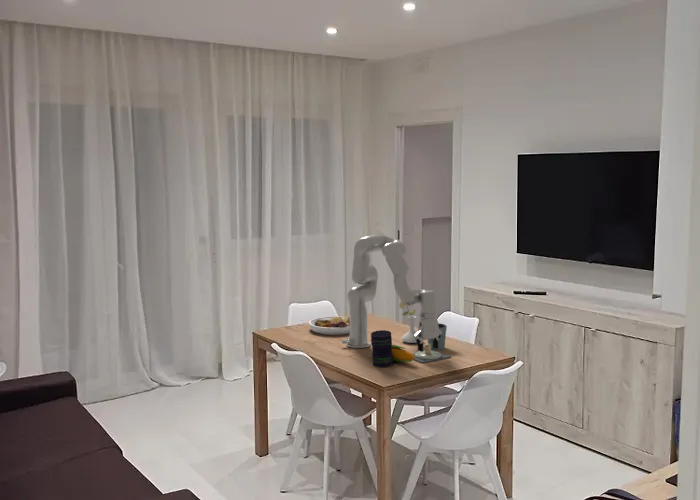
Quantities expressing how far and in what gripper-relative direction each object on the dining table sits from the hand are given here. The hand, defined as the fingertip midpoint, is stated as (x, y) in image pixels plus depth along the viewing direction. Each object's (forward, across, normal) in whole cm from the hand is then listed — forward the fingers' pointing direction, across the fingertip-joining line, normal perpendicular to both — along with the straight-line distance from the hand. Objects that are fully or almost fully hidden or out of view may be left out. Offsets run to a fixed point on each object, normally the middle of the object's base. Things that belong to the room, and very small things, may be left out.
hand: (428, 349), depth 327 cm
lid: (+3, 0, 0) cm, 3 cm away
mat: (+4, 0, 0) cm, 4 cm away
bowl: (+4, -8, +75) cm, 76 cm away
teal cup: (+4, +15, +11) cm, 19 cm away
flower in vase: (+4, +11, +28) cm, 30 cm away
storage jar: (+4, -26, +2) cm, 26 cm away
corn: (+4, -18, +2) cm, 18 cm away
